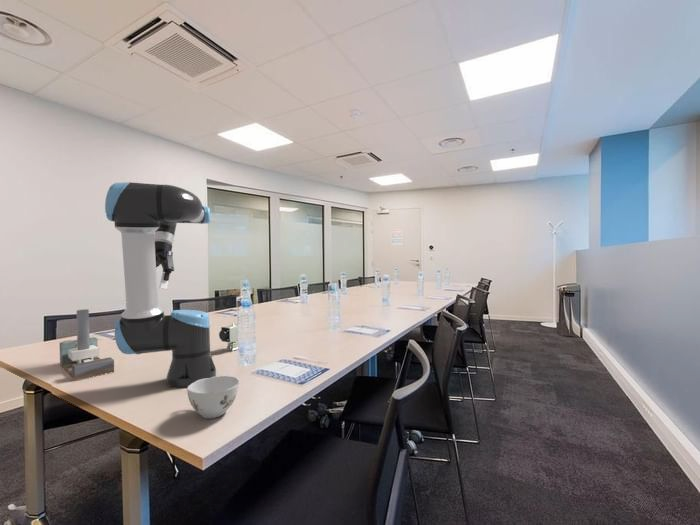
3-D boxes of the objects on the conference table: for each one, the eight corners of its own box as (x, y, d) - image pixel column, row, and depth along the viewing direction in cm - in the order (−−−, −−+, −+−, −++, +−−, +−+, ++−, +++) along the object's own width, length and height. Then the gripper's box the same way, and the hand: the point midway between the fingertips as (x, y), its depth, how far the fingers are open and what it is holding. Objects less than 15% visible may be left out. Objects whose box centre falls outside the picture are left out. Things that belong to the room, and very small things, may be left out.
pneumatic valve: (247, 347, 150) (246, 321, 150) (226, 354, 140) (225, 326, 140) (238, 346, 153) (238, 320, 152) (217, 352, 142) (217, 325, 142)
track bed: (114, 371, 119) (113, 346, 119) (75, 380, 110) (74, 353, 110) (94, 358, 136) (94, 336, 136) (60, 365, 128) (59, 341, 128)
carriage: (99, 360, 126) (98, 309, 126) (72, 365, 120) (71, 312, 120) (94, 356, 131) (92, 307, 131) (68, 361, 125) (66, 310, 125)
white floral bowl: (249, 409, 87) (248, 379, 87) (207, 430, 76) (206, 396, 76) (214, 397, 95) (214, 370, 95) (172, 415, 85) (171, 384, 85)
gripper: (188, 240, 139) (180, 288, 132) (155, 251, 151) (145, 296, 144) (171, 234, 133) (162, 284, 126) (138, 246, 145) (127, 292, 138)
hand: (153, 290), depth 135 cm, fingers open, 13 cm apart
